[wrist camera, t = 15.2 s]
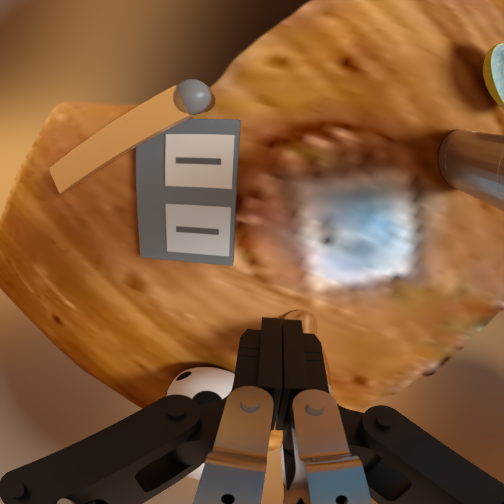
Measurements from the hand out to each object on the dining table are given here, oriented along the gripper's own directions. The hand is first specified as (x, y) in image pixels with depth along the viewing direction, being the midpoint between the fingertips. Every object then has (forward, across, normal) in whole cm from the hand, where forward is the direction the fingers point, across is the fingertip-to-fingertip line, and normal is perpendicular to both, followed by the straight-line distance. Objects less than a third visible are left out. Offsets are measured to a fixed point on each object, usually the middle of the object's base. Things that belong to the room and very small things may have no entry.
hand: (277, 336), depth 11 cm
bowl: (+31, -34, -23) cm, 52 cm away
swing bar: (+26, +19, -7) cm, 33 cm away
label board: (+31, +12, +2) cm, 33 cm away
